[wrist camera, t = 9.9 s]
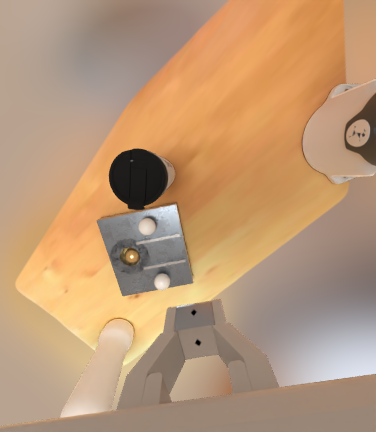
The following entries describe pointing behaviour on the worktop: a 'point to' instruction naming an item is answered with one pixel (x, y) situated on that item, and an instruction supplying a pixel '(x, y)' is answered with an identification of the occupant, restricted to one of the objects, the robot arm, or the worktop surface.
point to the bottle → (101, 371)
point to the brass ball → (132, 255)
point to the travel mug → (140, 177)
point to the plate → (147, 248)
